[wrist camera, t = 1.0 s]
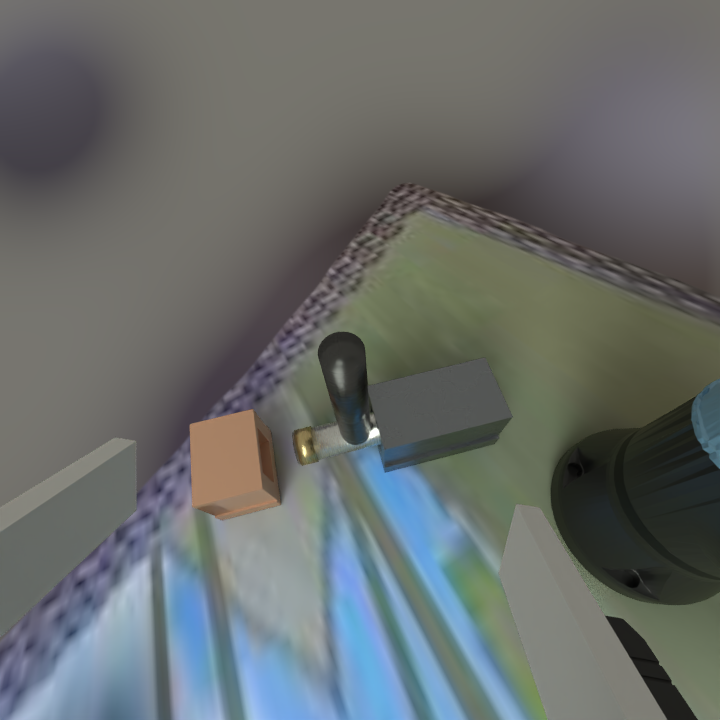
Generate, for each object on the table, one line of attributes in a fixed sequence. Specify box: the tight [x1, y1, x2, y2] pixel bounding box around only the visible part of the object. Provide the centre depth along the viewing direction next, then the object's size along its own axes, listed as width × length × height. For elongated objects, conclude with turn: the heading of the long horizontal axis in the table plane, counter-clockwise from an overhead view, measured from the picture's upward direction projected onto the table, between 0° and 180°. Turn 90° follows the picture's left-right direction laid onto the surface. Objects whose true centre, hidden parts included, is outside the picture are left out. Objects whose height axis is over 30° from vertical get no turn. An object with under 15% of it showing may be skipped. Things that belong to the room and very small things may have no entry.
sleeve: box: [368, 358, 513, 472], centre depth 40 cm, size 12×7×7 cm, turn 104°
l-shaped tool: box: [292, 332, 381, 466], centre depth 33 cm, size 20×4×18 cm, turn 104°
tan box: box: [190, 409, 281, 520], centre depth 39 cm, size 6×8×7 cm
